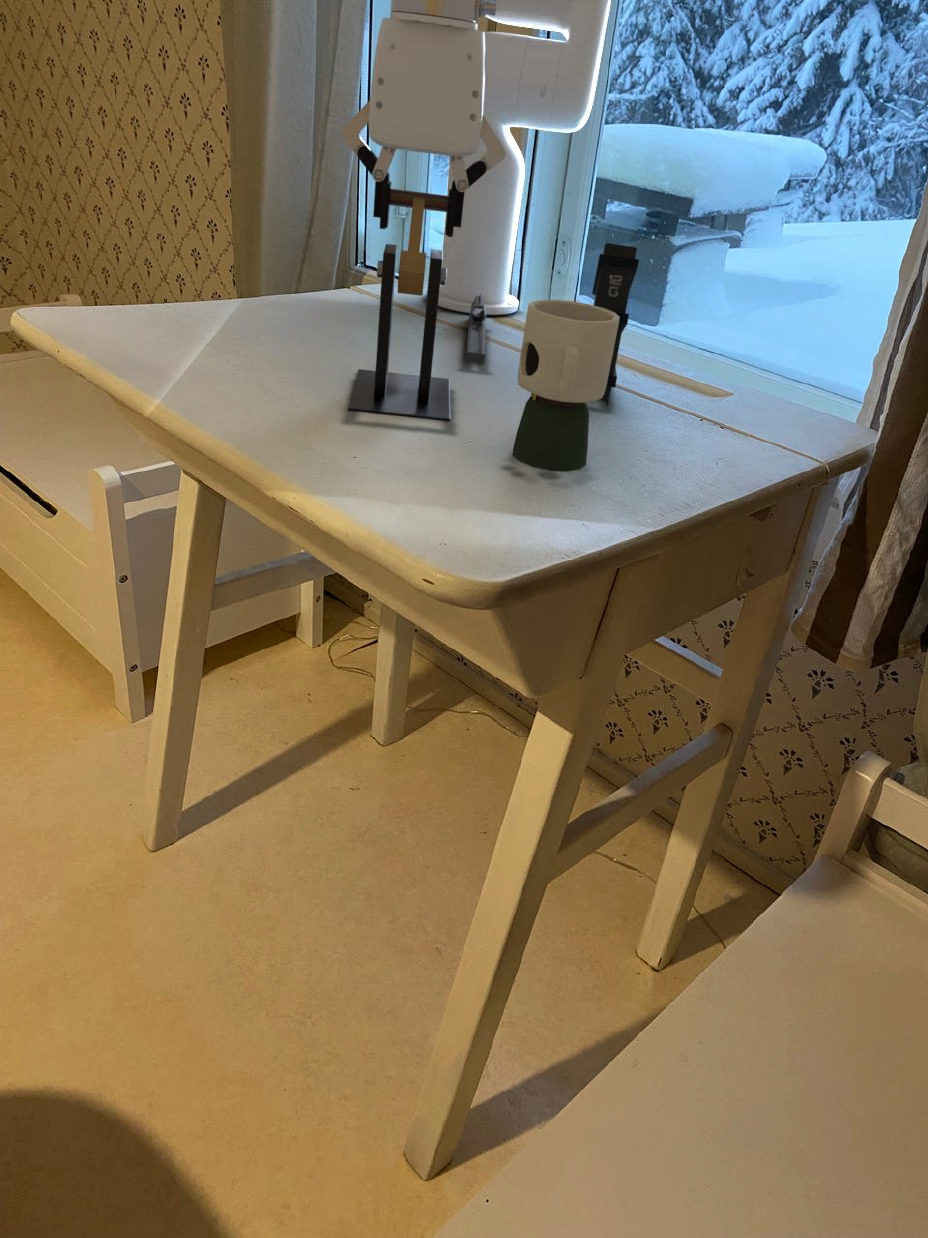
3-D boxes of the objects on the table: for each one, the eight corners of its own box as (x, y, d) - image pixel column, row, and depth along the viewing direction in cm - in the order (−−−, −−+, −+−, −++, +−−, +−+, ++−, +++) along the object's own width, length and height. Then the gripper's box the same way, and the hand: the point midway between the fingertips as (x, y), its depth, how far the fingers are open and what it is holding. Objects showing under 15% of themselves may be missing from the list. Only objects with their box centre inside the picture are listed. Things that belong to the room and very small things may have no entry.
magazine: (574, 399, 90) (602, 241, 88) (570, 418, 103) (594, 280, 101) (613, 405, 89) (641, 246, 88) (603, 423, 102) (628, 285, 101)
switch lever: (389, 204, 89) (390, 180, 87) (447, 211, 89) (449, 187, 87) (378, 290, 81) (379, 267, 79) (441, 298, 82) (443, 274, 80)
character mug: (505, 441, 82) (527, 289, 76) (584, 451, 83) (613, 300, 76) (504, 488, 73) (528, 320, 66) (593, 500, 73) (627, 333, 67)
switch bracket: (357, 381, 92) (366, 233, 85) (448, 391, 93) (464, 245, 86) (347, 422, 82) (355, 257, 75) (448, 433, 83) (466, 270, 76)
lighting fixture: (488, 375, 100) (493, 336, 98) (464, 372, 100) (468, 333, 97) (488, 331, 116) (492, 296, 114) (467, 328, 116) (471, 293, 113)
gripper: (530, 20, 83) (503, 235, 93) (338, -7, 82) (330, 214, 91) (538, 17, 77) (507, 248, 86) (329, -12, 76) (321, 226, 85)
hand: (416, 228), depth 89 cm, fingers closed on switch lever, 5 cm apart
